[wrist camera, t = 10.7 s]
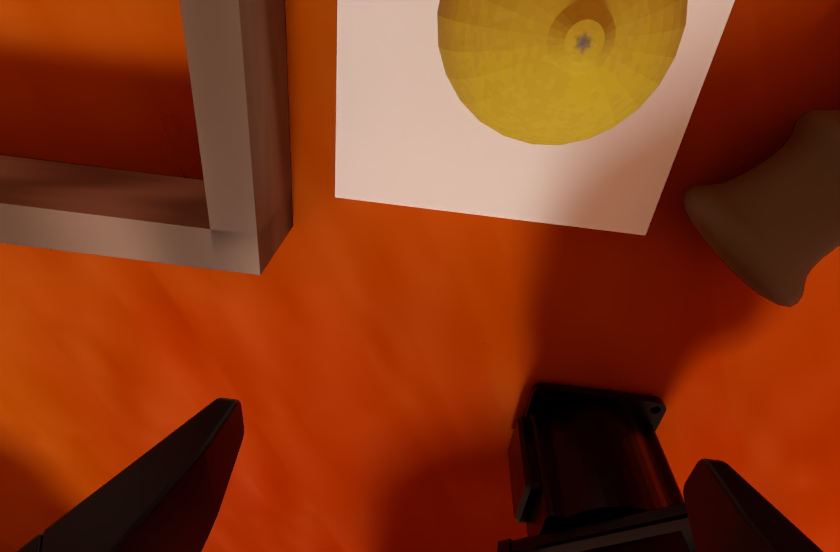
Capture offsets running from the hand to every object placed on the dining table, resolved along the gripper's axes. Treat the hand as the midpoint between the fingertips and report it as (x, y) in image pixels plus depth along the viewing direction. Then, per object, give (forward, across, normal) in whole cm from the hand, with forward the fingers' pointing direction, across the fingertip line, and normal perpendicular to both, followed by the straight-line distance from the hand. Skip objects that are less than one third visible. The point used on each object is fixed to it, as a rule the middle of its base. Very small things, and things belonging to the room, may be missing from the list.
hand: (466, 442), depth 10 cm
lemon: (+11, -1, -7) cm, 13 cm away
